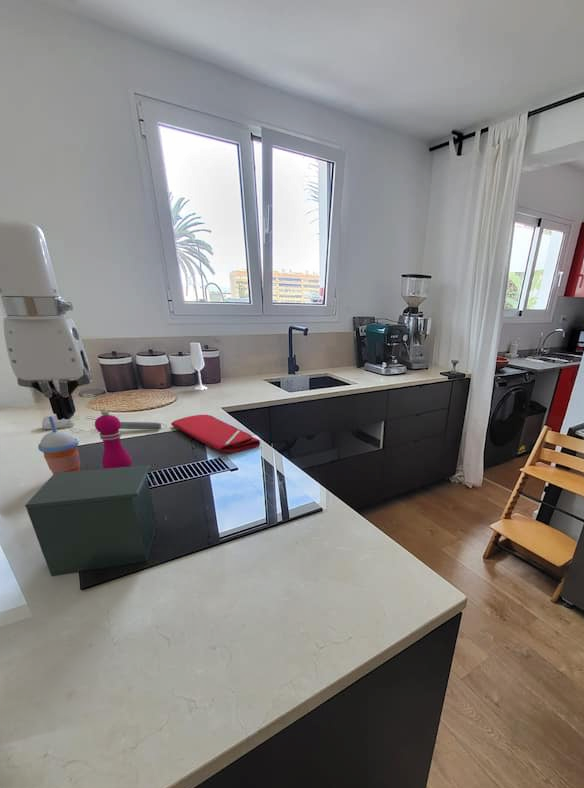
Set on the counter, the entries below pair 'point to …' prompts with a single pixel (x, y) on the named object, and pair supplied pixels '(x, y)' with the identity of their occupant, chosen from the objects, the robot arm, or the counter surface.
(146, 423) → the kitchen whisk
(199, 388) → the champagne flute
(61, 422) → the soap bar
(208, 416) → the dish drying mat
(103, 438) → the pepper mill
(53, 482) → the bin lid
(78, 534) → the bin
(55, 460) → the cup with straw
